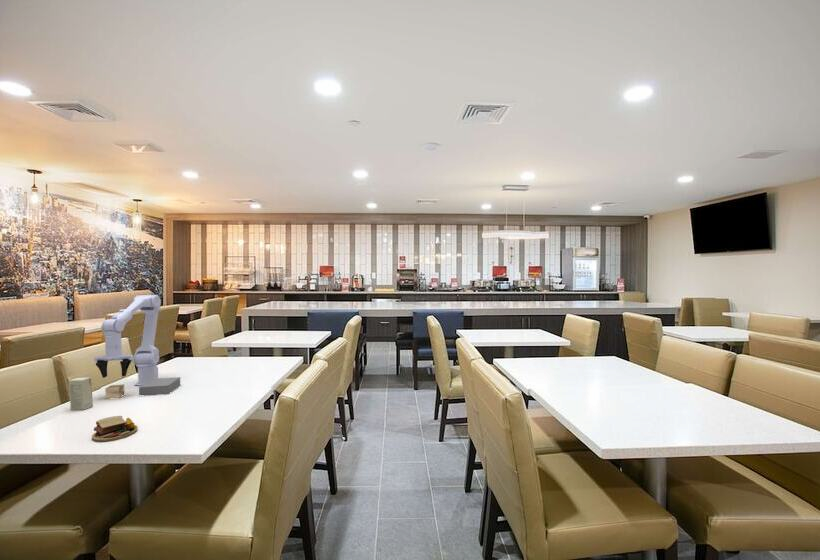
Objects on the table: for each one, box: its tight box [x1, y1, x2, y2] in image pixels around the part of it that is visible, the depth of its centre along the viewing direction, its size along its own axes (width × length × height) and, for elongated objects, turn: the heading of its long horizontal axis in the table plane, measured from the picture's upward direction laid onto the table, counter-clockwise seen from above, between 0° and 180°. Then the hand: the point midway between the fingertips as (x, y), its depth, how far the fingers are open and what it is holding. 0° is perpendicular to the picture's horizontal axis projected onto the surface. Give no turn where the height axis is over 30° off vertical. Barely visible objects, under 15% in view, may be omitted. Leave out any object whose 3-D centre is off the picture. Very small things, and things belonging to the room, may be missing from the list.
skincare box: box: [68, 377, 94, 411], centre depth 161 cm, size 6×4×12 cm
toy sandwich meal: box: [91, 415, 139, 442], centre depth 135 cm, size 12×14×5 cm
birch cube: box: [104, 384, 125, 400], centre depth 175 cm, size 5×5×5 cm
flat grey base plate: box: [138, 376, 181, 396], centre depth 184 cm, size 14×12×4 cm
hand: (114, 376), depth 175 cm, fingers open, 7 cm apart
